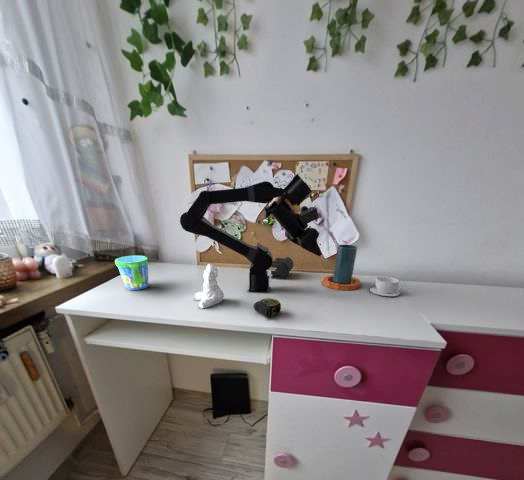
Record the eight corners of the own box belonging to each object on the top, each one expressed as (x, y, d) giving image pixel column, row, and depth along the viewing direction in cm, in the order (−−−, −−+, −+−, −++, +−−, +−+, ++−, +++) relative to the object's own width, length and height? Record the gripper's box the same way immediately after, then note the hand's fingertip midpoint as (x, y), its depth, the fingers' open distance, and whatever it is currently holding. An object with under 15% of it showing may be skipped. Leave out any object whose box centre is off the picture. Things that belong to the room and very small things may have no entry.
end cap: (287, 280, 108) (288, 262, 105) (270, 278, 110) (271, 261, 107) (293, 273, 116) (294, 257, 113) (277, 272, 118) (277, 256, 115)
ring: (325, 289, 100) (325, 284, 99) (321, 278, 111) (322, 274, 110) (363, 290, 99) (363, 286, 98) (355, 279, 110) (356, 275, 109)
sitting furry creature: (194, 298, 90) (189, 261, 84) (219, 295, 93) (217, 259, 87) (200, 309, 83) (196, 269, 76) (228, 305, 86) (225, 266, 79)
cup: (342, 288, 100) (348, 249, 93) (328, 284, 105) (333, 245, 97) (354, 285, 103) (361, 246, 96) (340, 281, 108) (346, 243, 101)
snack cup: (155, 292, 95) (148, 262, 90) (122, 296, 92) (113, 265, 86) (151, 279, 107) (146, 253, 102) (122, 282, 104) (115, 255, 98)
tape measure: (252, 312, 81) (252, 300, 79) (271, 307, 84) (271, 296, 82) (265, 320, 76) (266, 308, 74) (285, 315, 79) (285, 303, 77)
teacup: (365, 292, 97) (367, 279, 94) (376, 286, 103) (379, 273, 101) (393, 299, 91) (397, 286, 88) (403, 292, 97) (407, 279, 95)
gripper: (316, 198, 77) (345, 238, 85) (295, 195, 92) (322, 230, 100) (288, 229, 80) (319, 265, 87) (272, 221, 95) (300, 253, 103)
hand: (315, 252), depth 94 cm, fingers open, 9 cm apart
